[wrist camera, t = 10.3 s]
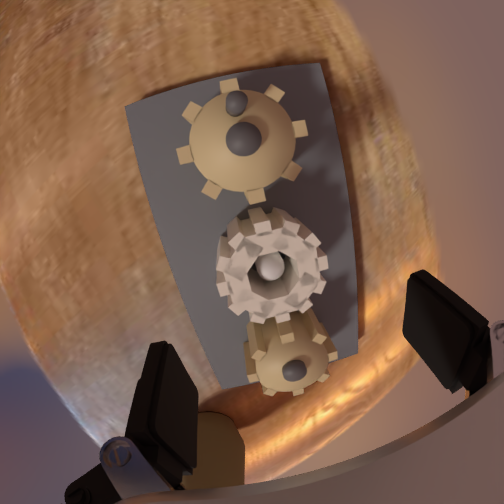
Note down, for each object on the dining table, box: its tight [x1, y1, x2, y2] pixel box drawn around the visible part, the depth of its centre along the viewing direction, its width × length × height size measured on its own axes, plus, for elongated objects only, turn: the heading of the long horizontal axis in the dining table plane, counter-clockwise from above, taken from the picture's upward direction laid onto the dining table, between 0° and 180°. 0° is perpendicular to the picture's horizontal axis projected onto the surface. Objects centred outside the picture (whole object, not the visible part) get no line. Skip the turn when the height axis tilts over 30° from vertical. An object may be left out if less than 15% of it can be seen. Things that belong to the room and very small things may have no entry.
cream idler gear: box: [216, 207, 328, 324], centre depth 18 cm, size 7×7×4 cm
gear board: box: [125, 63, 358, 396], centre depth 18 cm, size 26×14×8 cm, turn 13°
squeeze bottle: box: [181, 412, 245, 490], centre depth 20 cm, size 8×8×18 cm
